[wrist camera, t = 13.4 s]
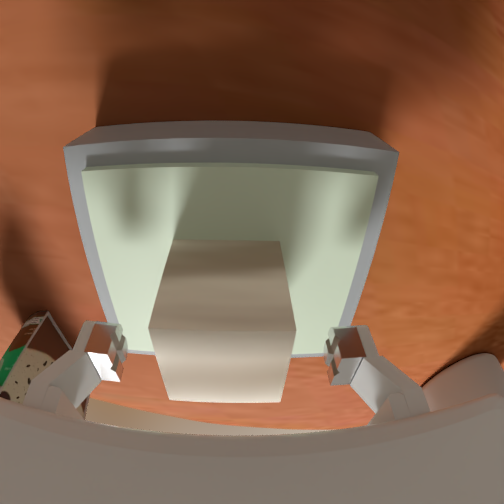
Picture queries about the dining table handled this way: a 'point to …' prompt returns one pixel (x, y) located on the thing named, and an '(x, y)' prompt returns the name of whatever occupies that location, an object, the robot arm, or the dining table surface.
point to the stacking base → (231, 210)
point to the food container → (32, 357)
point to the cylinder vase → (465, 382)
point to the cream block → (223, 321)
